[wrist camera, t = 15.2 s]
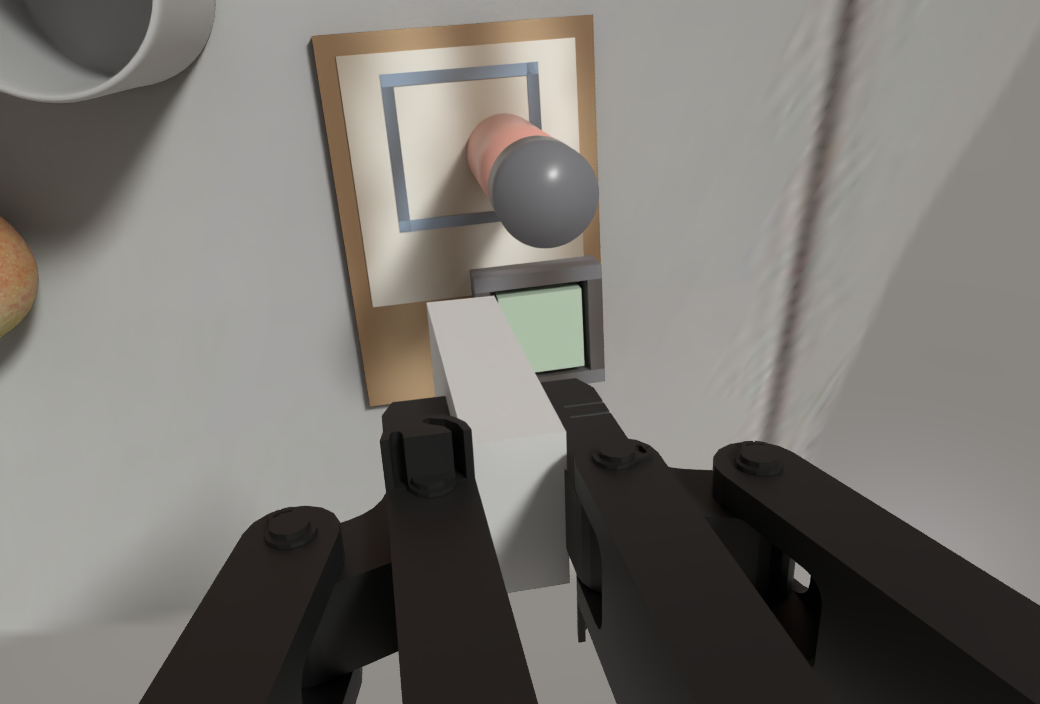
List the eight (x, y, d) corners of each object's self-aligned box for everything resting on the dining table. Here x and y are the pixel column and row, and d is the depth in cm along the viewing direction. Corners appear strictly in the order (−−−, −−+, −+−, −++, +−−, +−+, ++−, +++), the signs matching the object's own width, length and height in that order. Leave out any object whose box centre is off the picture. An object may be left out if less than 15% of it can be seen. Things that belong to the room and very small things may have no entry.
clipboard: (370, 402, 47) (370, 422, 44) (312, 35, 39) (308, 36, 37) (601, 370, 49) (613, 387, 46) (589, 15, 41) (603, 14, 39)
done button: (499, 364, 46) (504, 376, 45) (493, 288, 45) (498, 298, 43) (576, 353, 47) (584, 365, 45) (573, 279, 45) (581, 288, 44)
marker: (465, 191, 43) (494, 248, 32) (466, 111, 41) (496, 142, 30) (541, 191, 43) (595, 248, 32) (544, 112, 42) (602, 144, 31)
